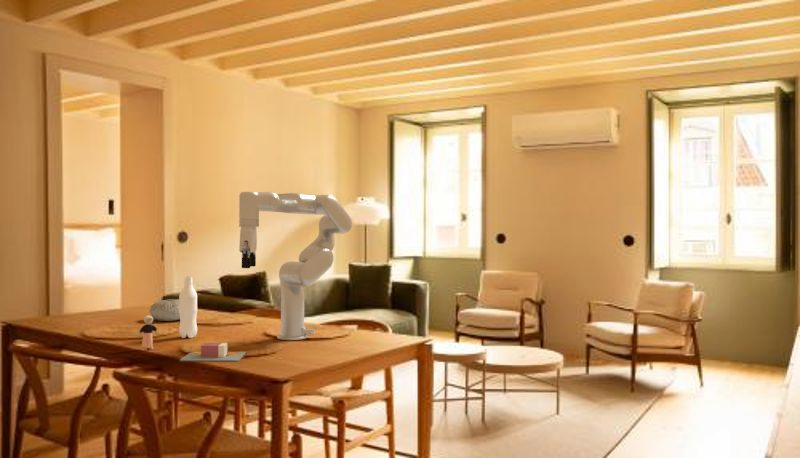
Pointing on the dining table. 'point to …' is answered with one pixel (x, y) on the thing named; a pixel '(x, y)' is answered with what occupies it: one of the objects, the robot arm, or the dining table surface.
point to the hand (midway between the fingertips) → (248, 267)
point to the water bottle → (188, 310)
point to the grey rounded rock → (166, 310)
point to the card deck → (214, 350)
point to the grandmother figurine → (147, 333)
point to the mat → (198, 357)
